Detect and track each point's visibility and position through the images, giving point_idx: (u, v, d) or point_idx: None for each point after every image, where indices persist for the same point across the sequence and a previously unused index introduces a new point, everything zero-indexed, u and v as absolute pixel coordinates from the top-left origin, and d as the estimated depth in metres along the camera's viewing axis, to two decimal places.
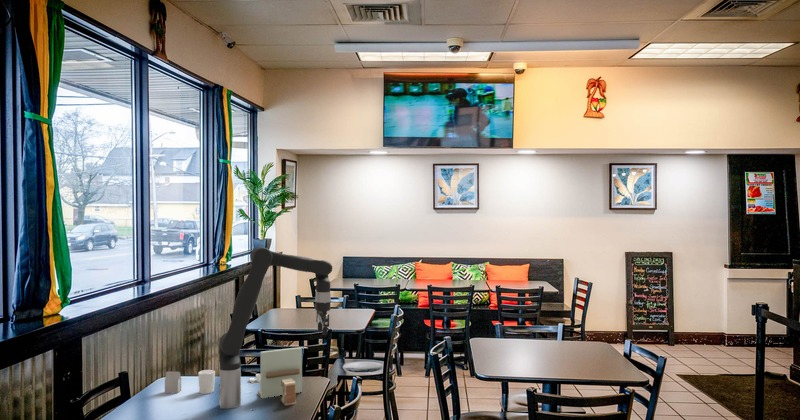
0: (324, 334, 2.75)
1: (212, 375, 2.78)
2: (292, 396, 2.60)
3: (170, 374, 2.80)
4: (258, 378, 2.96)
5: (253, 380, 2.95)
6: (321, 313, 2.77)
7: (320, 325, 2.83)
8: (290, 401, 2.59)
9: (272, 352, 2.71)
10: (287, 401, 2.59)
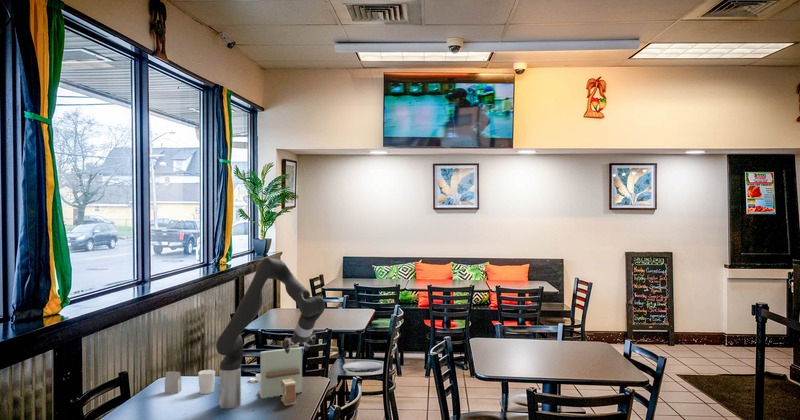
0: None
1: (212, 375, 2.78)
2: (292, 396, 2.60)
3: (170, 374, 2.80)
4: (258, 378, 2.96)
5: (253, 380, 2.95)
6: None
7: (306, 345, 2.53)
8: (290, 401, 2.59)
9: (272, 352, 2.71)
10: (287, 401, 2.59)
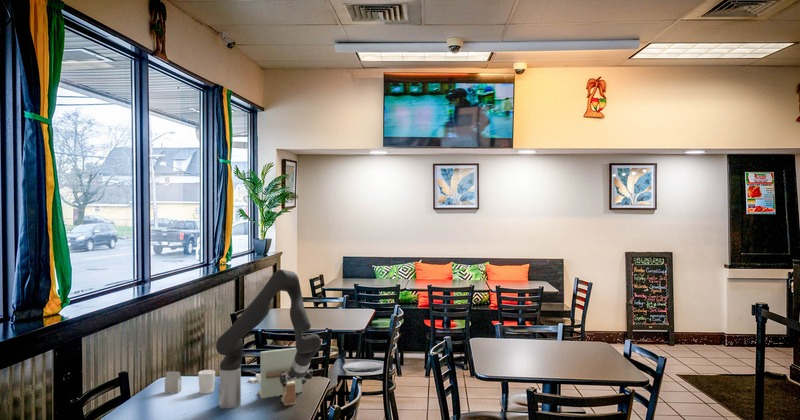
0: None
1: (212, 375, 2.78)
2: (292, 396, 2.60)
3: (170, 374, 2.80)
4: (258, 378, 2.96)
5: (253, 380, 2.96)
6: None
7: (303, 379, 2.55)
8: (290, 401, 2.59)
9: (272, 352, 2.71)
10: (287, 401, 2.59)
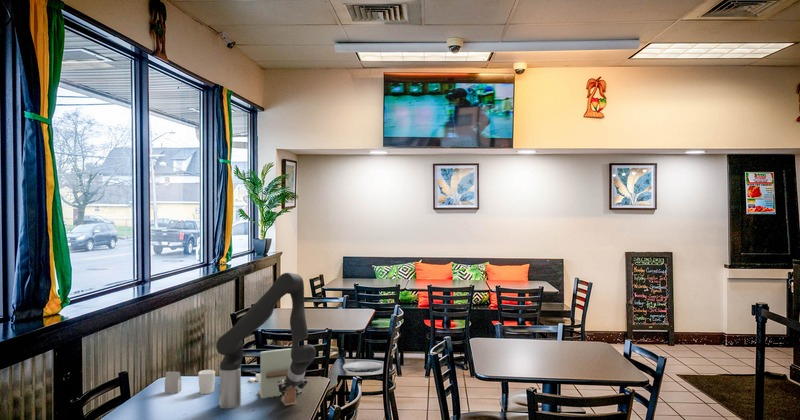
0: None
1: (212, 375, 2.78)
2: (292, 396, 2.60)
3: (170, 374, 2.80)
4: (258, 378, 2.96)
5: (253, 380, 2.96)
6: None
7: None
8: (290, 401, 2.59)
9: (272, 352, 2.71)
10: (287, 401, 2.59)
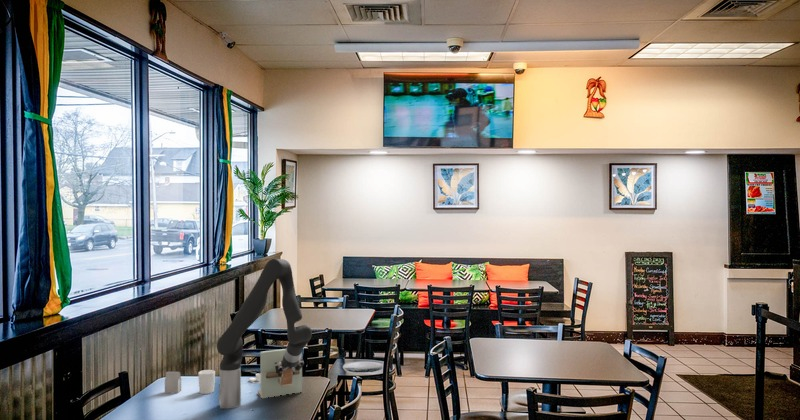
0: None
1: (212, 375, 2.78)
2: (289, 377, 2.64)
3: (170, 374, 2.80)
4: (258, 378, 2.96)
5: (253, 380, 2.96)
6: None
7: None
8: (286, 382, 2.64)
9: (272, 352, 2.71)
10: (284, 382, 2.63)
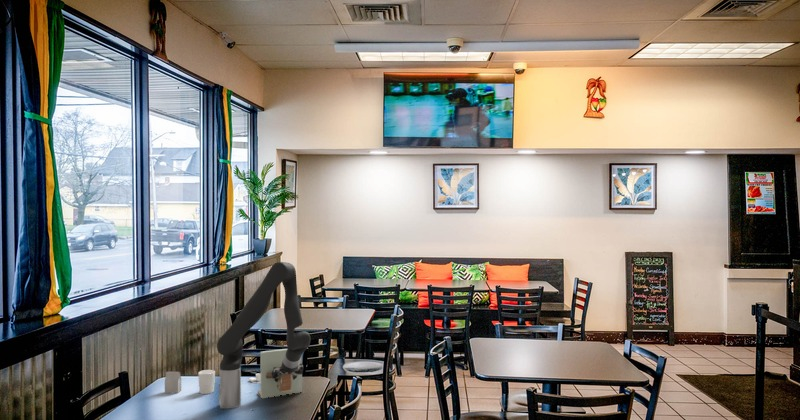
0: None
1: (212, 375, 2.78)
2: (288, 384, 2.66)
3: (170, 374, 2.80)
4: (258, 378, 2.96)
5: (253, 380, 2.96)
6: None
7: (294, 374, 2.68)
8: (285, 388, 2.66)
9: (272, 352, 2.71)
10: (283, 388, 2.65)
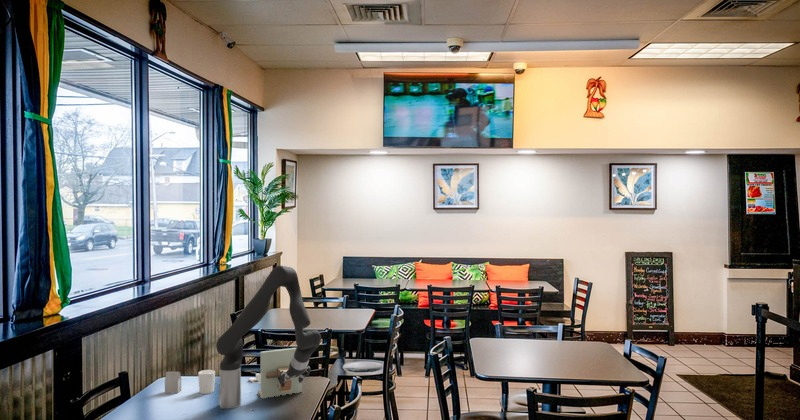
0: None
1: (212, 375, 2.78)
2: (288, 384, 2.66)
3: (170, 374, 2.80)
4: (258, 378, 2.97)
5: (253, 380, 2.96)
6: None
7: (300, 377, 2.58)
8: (285, 388, 2.66)
9: (272, 352, 2.71)
10: (283, 388, 2.65)
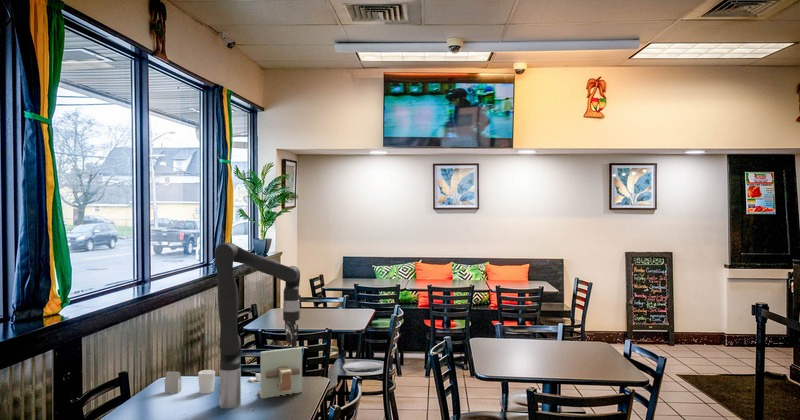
0: (293, 346, 2.54)
1: (212, 375, 2.78)
2: (288, 384, 2.66)
3: (170, 374, 2.80)
4: (258, 377, 2.97)
5: (253, 379, 2.96)
6: (289, 323, 2.57)
7: (289, 336, 2.62)
8: (285, 388, 2.66)
9: (272, 352, 2.71)
10: (283, 388, 2.65)
